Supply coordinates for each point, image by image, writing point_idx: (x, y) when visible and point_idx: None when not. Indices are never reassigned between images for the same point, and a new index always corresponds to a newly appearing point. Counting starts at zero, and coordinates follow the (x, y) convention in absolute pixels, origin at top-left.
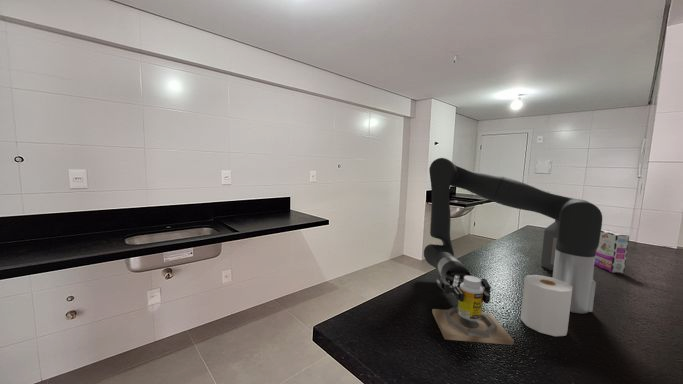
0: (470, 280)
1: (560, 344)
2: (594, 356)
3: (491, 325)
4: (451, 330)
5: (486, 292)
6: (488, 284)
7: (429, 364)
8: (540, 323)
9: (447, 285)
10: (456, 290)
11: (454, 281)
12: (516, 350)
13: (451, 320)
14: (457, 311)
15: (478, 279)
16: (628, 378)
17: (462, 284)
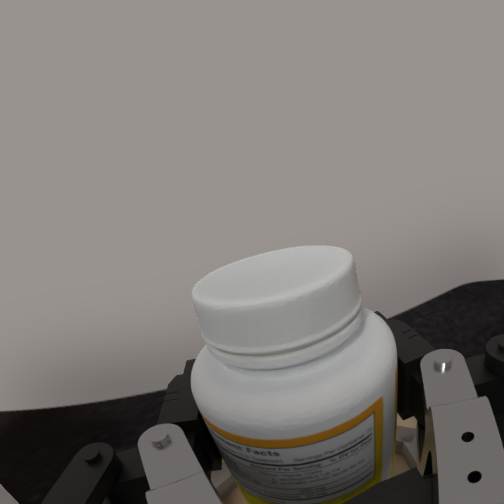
0: (298, 248)
1: (37, 477)
2: (17, 445)
3: (219, 484)
4: (404, 425)
5: (167, 411)
6: (52, 494)
7: (425, 325)
8: (13, 499)
9: (495, 342)
10: (414, 343)
11: (472, 400)
12: None
13: (413, 445)
14: None
15: (213, 279)
16: (33, 409)
17: (371, 319)
